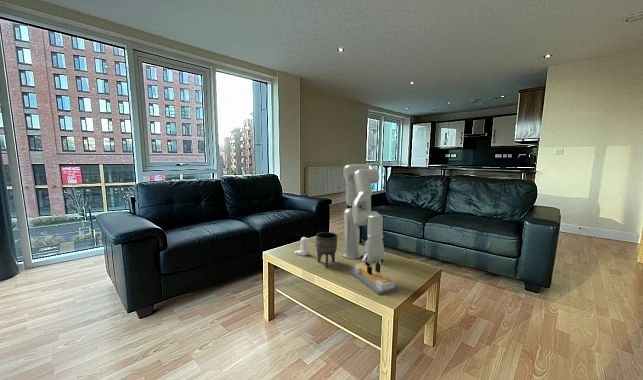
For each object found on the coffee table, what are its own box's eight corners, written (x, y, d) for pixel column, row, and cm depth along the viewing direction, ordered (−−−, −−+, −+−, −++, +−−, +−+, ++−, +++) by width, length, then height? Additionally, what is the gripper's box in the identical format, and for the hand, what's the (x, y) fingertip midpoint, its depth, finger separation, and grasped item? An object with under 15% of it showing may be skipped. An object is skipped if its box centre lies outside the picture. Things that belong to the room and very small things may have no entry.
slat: (356, 271, 143) (356, 265, 142) (362, 269, 144) (363, 263, 144) (382, 289, 123) (382, 282, 122) (389, 287, 125) (389, 280, 124)
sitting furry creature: (305, 250, 177) (305, 233, 176) (313, 254, 171) (313, 236, 170) (293, 254, 171) (293, 236, 170) (301, 257, 165) (301, 239, 163)
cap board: (350, 273, 143) (350, 265, 142) (367, 269, 148) (368, 262, 148) (378, 294, 121) (378, 285, 120) (398, 289, 126) (398, 280, 125)
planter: (311, 265, 153) (311, 236, 151) (321, 257, 165) (322, 230, 163) (331, 269, 147) (331, 239, 145) (340, 261, 159) (340, 233, 157)
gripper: (383, 234, 138) (382, 267, 140) (356, 238, 131) (355, 272, 133) (392, 238, 132) (391, 272, 133) (365, 242, 124) (364, 278, 126)
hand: (373, 272), depth 133 cm, fingers open, 4 cm apart
